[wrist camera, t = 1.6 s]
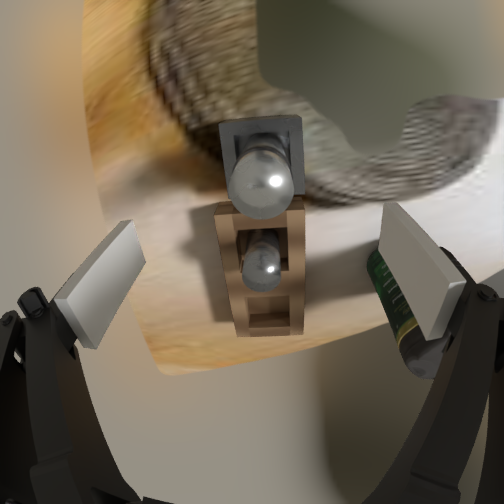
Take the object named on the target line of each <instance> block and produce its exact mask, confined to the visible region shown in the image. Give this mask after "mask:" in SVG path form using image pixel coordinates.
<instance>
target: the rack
mask: <svg viewBox="0 0 504 504" xmlns="http://www.w3.org/2000/svg"><path fill="white" fill-rule="evenodd" d="M214 219H215V225H216V231H217V236H218V242H219V247H220V253H221V258H222V264H223V269H224V274H225V279H226V285H227V290H228V295H229V300H230V305H231V310H232V315H233V320H234V325H235V329H236V334H237V337H262V336H287V335H303V330H304V302H305V208H304V205H303V201H302V198H301V197H293V198H292V201H291V203H290V205H289V206H288V207H287V209H286V210H285V211H284V212H282V213H281V214H280V215H278V216H276V217H273V218H270V219H264V220H260V219H253V218H250V217H247V216H245V215H244V214H242V213H241V212H239V211H238V210H237V209H236V208H235V206H234V205H233V203H232V201H226V202H219V205H218V207H217V209H216V212H215V214H214ZM261 228H274V229H275V230H276V231H277V233H278V235H279V246H280V265H281V281H280V283H279V285H278V286H277V287H276V288H274V289H273V290H271V291H268V292H256V291H253V290H251V289H249V288H248V287H247V286H246V285H245V284H244V282H243V280H242V271H243V264H244V257H245V250H246V243H247V236H248V233H249V231H250V230H251V229H261Z"/></svg>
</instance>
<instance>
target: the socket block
mask: <svg viewBox="0 0 504 504" xmlns="http://www.w3.org/2000/svg"><path fill="white" fill-rule="evenodd" d="M219 132H220V140H221V147H222V155H223V162H224V169H225V177H226V184H227V191H228V198H229V199H230V196H229V182H230V179H231V176H232V170H233V167H234V164H235V162H236V160H237V159H238V157H239V156H240V155H241V153H242V151H243V149H244V147H245V145H246V143H247V141H248V140H249V139H250V138H251V137H252V136H254V135H256V134H259V133H269V134H272V135H274V136H275V137H277V138H278V139H279V140H280V141H281V143H282V145H283V148H284V152H285V155H286V158H287V159H288V161H289V163H290V166H291V169H292V175H293V180H292V181H293V185H294V194H305V174H304V150H303V132H302V117H300V116H298V115H277V116H262V117H250V118H240V119H231V120H225V121H223V122H221V123H219ZM294 194H293V195H294Z"/></svg>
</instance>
